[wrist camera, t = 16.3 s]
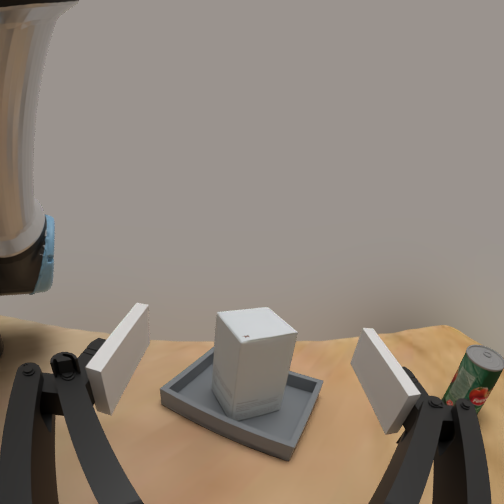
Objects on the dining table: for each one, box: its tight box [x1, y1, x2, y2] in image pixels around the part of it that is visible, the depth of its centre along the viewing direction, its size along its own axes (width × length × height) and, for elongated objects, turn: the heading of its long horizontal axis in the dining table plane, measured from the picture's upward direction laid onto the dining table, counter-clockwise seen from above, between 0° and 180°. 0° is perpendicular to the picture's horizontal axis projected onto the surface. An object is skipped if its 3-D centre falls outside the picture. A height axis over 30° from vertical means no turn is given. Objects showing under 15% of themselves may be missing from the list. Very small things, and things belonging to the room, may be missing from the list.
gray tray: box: [160, 347, 323, 461], centre depth 35 cm, size 18×14×3 cm
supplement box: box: [212, 307, 298, 421], centre depth 33 cm, size 7×7×13 cm
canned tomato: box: [442, 345, 504, 414], centre depth 30 cm, size 8×8×11 cm
